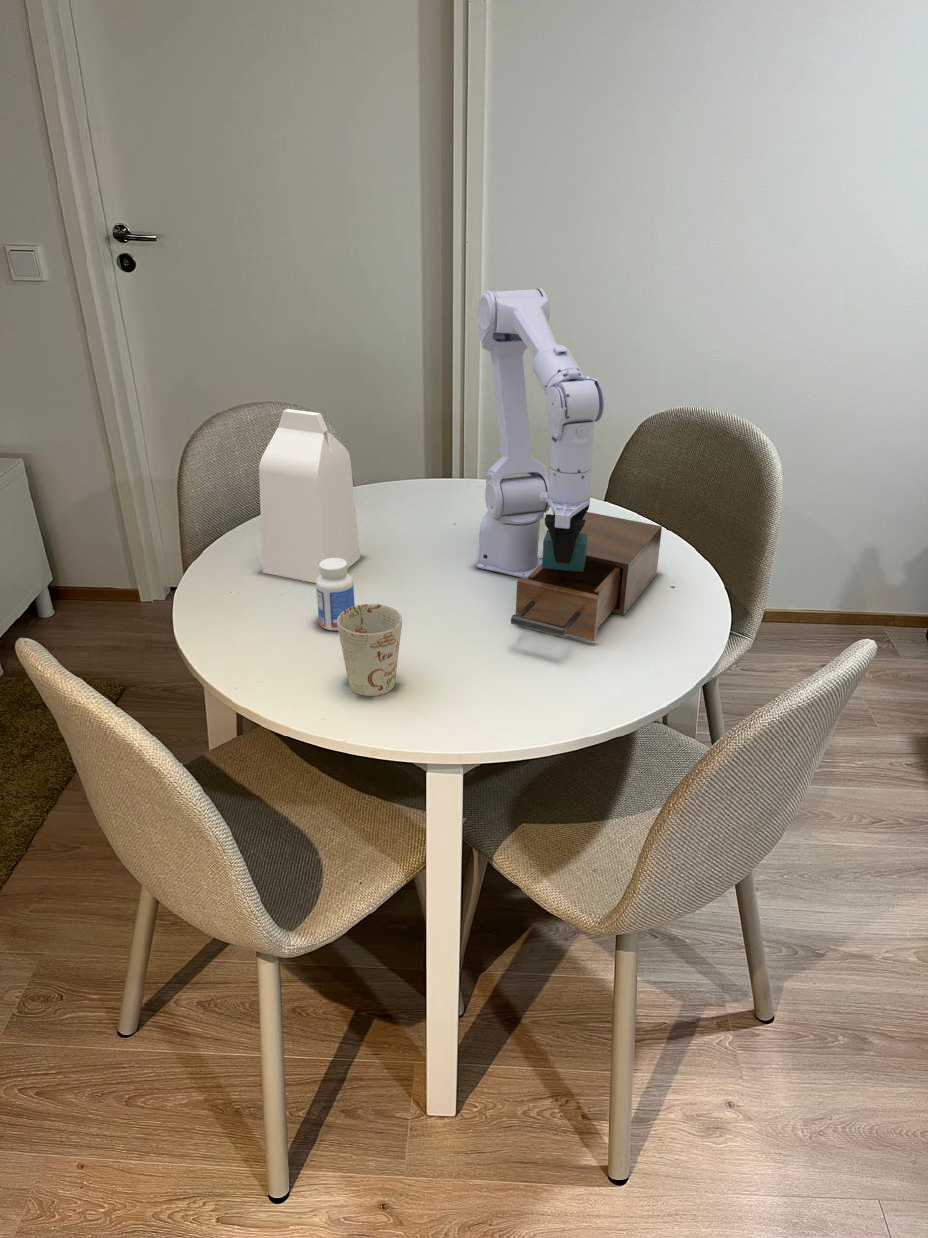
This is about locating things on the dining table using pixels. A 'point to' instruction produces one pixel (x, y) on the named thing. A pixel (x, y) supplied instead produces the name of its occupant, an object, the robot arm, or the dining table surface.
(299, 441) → the milk
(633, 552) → the cabinet
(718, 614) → the dining table surface
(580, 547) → the tea box
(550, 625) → the drawer
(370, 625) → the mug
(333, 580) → the pill bottle
